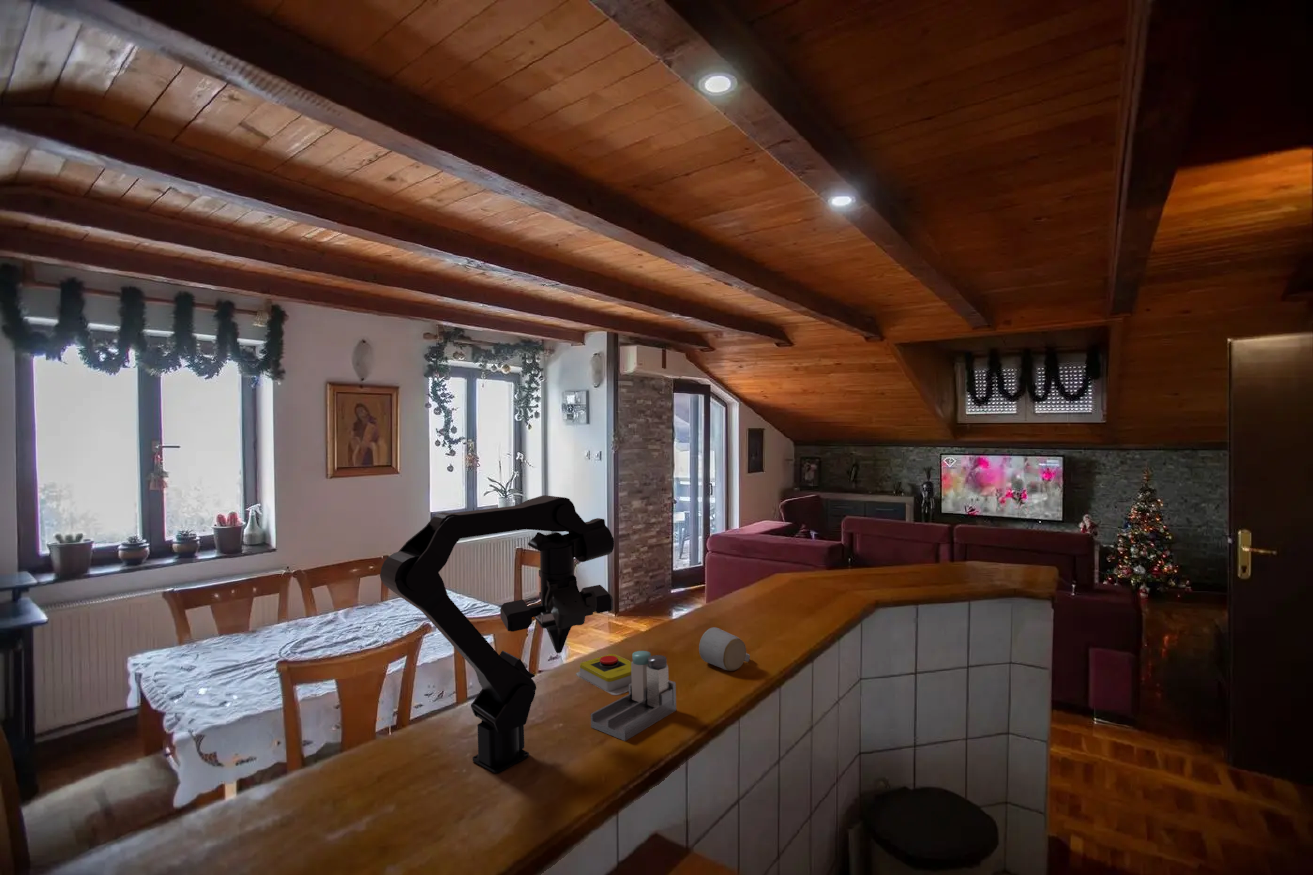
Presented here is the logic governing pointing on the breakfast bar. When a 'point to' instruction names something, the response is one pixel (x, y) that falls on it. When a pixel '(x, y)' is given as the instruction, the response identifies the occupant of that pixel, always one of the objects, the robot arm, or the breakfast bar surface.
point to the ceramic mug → (722, 649)
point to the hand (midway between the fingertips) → (558, 652)
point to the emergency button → (607, 673)
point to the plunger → (639, 674)
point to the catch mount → (639, 704)
